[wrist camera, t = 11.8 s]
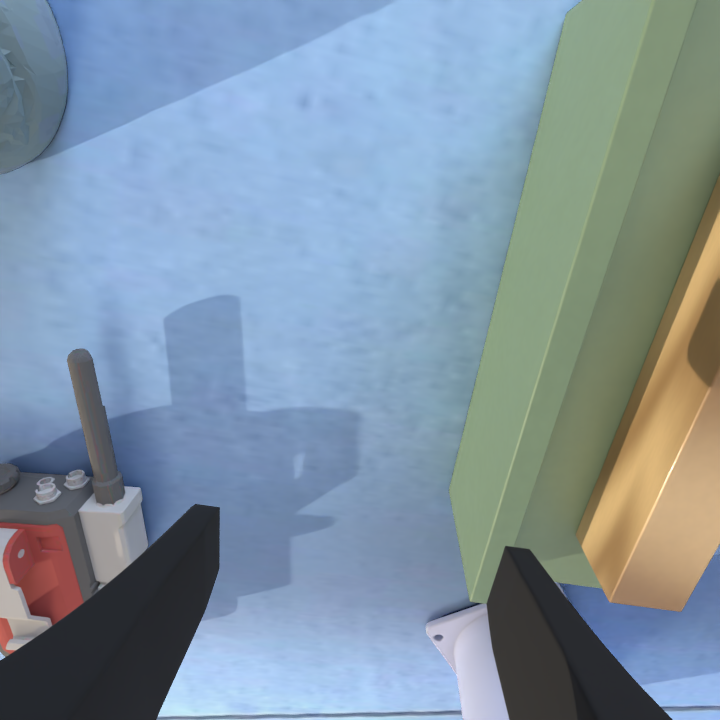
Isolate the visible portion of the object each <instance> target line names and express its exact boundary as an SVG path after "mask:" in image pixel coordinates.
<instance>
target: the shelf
mask: <svg viewBox="0 0 720 720" xmlns="http://www.w3.org/2000/svg"><path fill="white" fill-rule="evenodd" d="M719 174H720V0H582V1H581V2H579V3H578V4H577V5H576V6H574V7H573V8H572V9H571V10H570V11H568V12H567V14H566V16H565V21H564V25H563V29H562V33H561V37H560V41H559V45H558V49H557V53H556V57H555V61H554V65H553V69H552V73H551V77H550V81H549V86H548V90H547V94H546V98H545V102H544V106H543V110H542V114H541V118H540V122H539V126H538V130H537V134H536V138H535V142H534V146H533V150H532V155H531V159H530V163H529V167H528V171H527V175H526V179H525V183H524V187H523V191H522V195H521V199H520V203H519V207H518V211H517V215H516V219H515V224H514V228H513V232H512V236H511V240H510V244H509V248H508V252H507V256H506V260H505V264H504V268H503V272H502V276H501V280H500V284H499V288H498V293H497V297H496V301H495V305H494V309H493V313H492V317H491V321H490V325H489V329H488V333H487V337H486V341H485V345H484V349H483V353H482V358H481V362H480V366H479V370H478V374H477V378H476V382H475V386H474V390H473V394H472V398H471V402H470V406H469V410H468V414H467V418H466V422H465V427H464V431H463V435H462V439H461V443H460V447H459V451H458V455H457V459H456V463H455V467H454V471H453V475H452V479H451V483H450V487H449V494H450V499H451V504H452V510H453V515H454V520H455V526H456V531H457V536H458V541H459V547H460V552H461V557H462V563H463V568H464V573H465V579H466V584H467V589H468V594H469V600H470V601H471V602H476V603H483V604H487V601H488V597H489V594H490V591H491V588H492V585H493V582H494V579H495V576H496V573H497V570H498V567H499V564H500V561H501V558H502V554H503V551H504V548H505V546H511V547H519V548H526V549H530V550H531V551H532V553H533V554H534V555H535V557H536V558H537V559H538V561H539V562H540V563H541V565H542V566H543V567H544V569H545V570H546V571H547V573H548V574H549V575H550V577H551V578H552V579H553V581H554V582H558V583H565V584H573V585H580V586H587V587H595V588H602V587H601V585H600V583H599V581H598V579H597V577H596V575H595V573H594V571H593V569H592V567H591V565H590V563H589V561H588V559H587V557H586V555H585V553H584V551H583V549H582V547H581V545H580V543H579V541H578V539H577V537H576V532H577V530H578V527H579V525H580V522H581V520H582V517H583V515H584V512H585V510H586V507H587V505H588V502H589V500H590V497H591V495H592V492H593V490H594V487H595V485H596V482H597V480H598V477H599V475H600V472H601V470H602V467H603V465H604V462H605V460H606V457H607V455H608V452H609V450H610V447H611V445H612V442H613V440H614V437H615V435H616V432H617V430H618V427H619V425H620V422H621V420H622V417H623V415H624V412H625V410H626V407H627V405H628V402H629V400H630V397H631V395H632V392H633V390H634V387H635V384H636V382H637V379H638V377H639V374H640V372H641V369H642V367H643V364H644V362H645V359H646V357H647V354H648V352H649V349H650V347H651V344H652V342H653V339H654V337H655V334H656V332H657V329H658V327H659V324H660V322H661V319H662V317H663V314H664V312H665V309H666V307H667V304H668V302H669V299H670V297H671V294H672V292H673V289H674V287H675V284H676V282H677V279H678V277H679V274H680V272H681V269H682V267H683V264H684V262H685V259H686V257H687V254H688V252H689V249H690V247H691V244H692V242H693V239H694V237H695V234H696V232H697V229H698V227H699V224H700V222H701V219H702V217H703V214H704V212H705V209H706V207H707V204H708V202H709V199H710V197H711V194H712V192H713V189H714V187H715V184H716V182H717V179H718V177H719Z"/></svg>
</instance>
